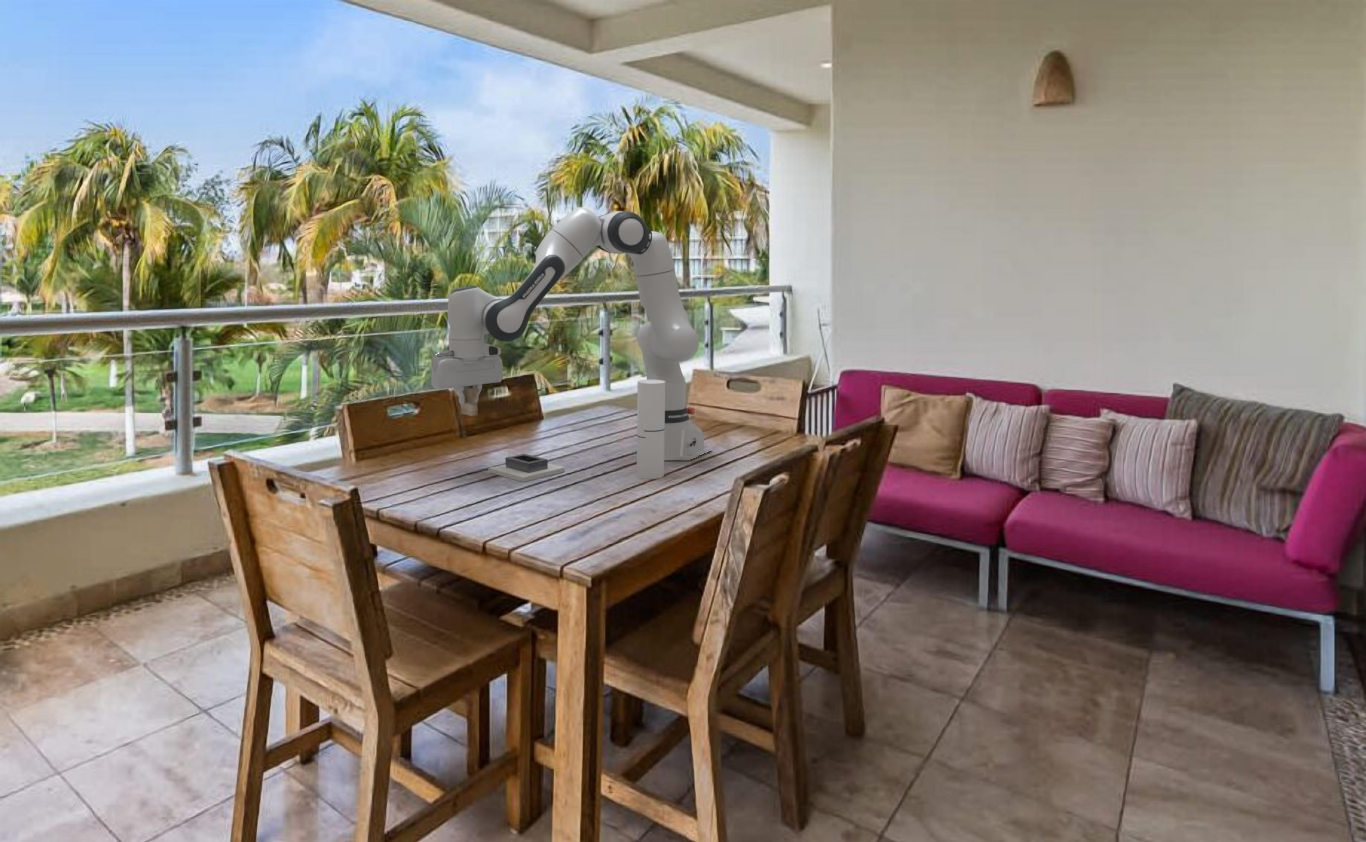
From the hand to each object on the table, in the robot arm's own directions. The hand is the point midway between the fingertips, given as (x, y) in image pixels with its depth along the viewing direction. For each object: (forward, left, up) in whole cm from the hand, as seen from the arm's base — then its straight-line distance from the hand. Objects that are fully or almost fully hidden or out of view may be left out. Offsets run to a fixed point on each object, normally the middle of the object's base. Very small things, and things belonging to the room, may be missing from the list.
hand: (468, 402), depth 213 cm
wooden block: (0, 0, -3) cm, 3 cm away
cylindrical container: (-29, +38, -19) cm, 51 cm away
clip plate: (-9, +12, -18) cm, 24 cm away
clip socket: (-9, +12, -17) cm, 23 cm away
